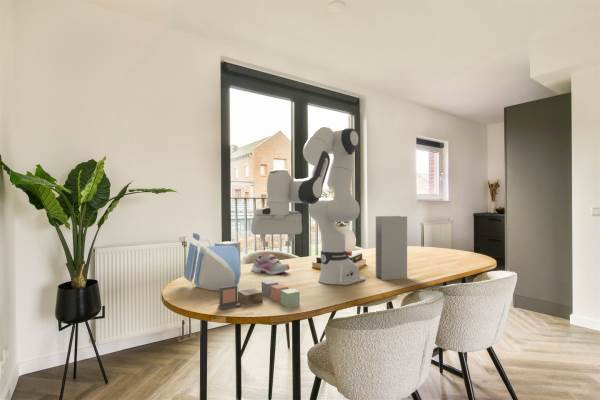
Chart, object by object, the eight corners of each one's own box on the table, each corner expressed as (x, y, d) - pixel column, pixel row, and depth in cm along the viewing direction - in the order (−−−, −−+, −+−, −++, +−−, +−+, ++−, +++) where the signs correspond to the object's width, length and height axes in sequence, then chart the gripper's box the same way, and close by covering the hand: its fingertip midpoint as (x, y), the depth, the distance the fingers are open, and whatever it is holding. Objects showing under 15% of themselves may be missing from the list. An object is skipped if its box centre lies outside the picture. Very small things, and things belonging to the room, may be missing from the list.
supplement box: (241, 275, 170) (241, 242, 170) (228, 279, 162) (228, 244, 162) (227, 273, 175) (227, 240, 175) (214, 276, 168) (214, 242, 168)
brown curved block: (254, 298, 131) (254, 288, 131) (262, 303, 126) (262, 292, 126) (237, 301, 128) (237, 291, 128) (245, 306, 122) (245, 295, 122)
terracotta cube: (282, 296, 133) (282, 283, 133) (288, 299, 129) (288, 286, 129) (270, 298, 131) (270, 285, 131) (276, 301, 127) (276, 288, 127)
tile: (236, 304, 123) (236, 284, 123) (239, 306, 121) (239, 286, 121) (218, 307, 119) (218, 287, 119) (220, 310, 117) (220, 289, 117)
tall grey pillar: (400, 275, 170) (400, 215, 169) (407, 277, 164) (407, 216, 164) (375, 277, 165) (375, 216, 165) (381, 280, 160) (381, 216, 160)
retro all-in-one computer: (191, 230, 147) (223, 227, 159) (183, 278, 151) (215, 272, 164) (226, 252, 131) (258, 247, 144) (216, 306, 136) (248, 296, 148)
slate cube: (272, 291, 140) (272, 279, 140) (278, 294, 136) (278, 282, 136) (261, 293, 138) (261, 281, 138) (267, 296, 133) (267, 284, 133)
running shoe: (284, 276, 169) (284, 256, 169) (247, 272, 178) (247, 253, 178) (292, 272, 177) (292, 254, 177) (256, 269, 186) (256, 251, 186)
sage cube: (292, 301, 127) (292, 288, 127) (299, 305, 122) (299, 291, 122) (280, 304, 124) (280, 290, 124) (287, 307, 120) (287, 293, 120)
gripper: (298, 210, 138) (297, 244, 138) (250, 209, 129) (249, 246, 129) (305, 211, 133) (304, 246, 132) (255, 210, 124) (254, 247, 123)
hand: (276, 246), depth 131 cm, fingers open, 8 cm apart
